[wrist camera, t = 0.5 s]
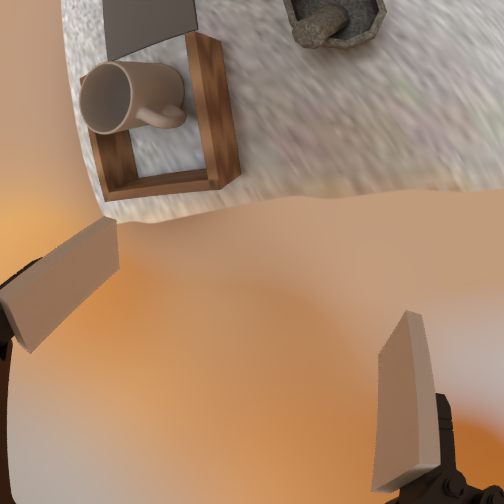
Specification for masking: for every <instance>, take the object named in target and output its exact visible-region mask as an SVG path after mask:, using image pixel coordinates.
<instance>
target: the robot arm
mask: <svg viewBox="0 0 504 504" xmlns="http://www.w3.org/2000/svg"><path fill="white" fill-rule="evenodd" d="M119 268H120V267H119V255H118V242H117V224H116V220H115V219H111V218H108V217H105V216H104V217H103V218H101V219H99V220H98V221H96V222H94V223H93V224H91V225H90V226H88V227H87V228H85V229H84V230H82V231H80V232H79V233H78V234H76V235H74V236H73V237H72V238H70V239H69V240H67V241H66V242H64V243H63V244H61V245H60V246H58V247H57V248H55V249H54V250H53V251H51V252H50V253H48V254H47V255H46V256H44V257H41V258H39V259H36V260H34V261H32V262H30V263H29V264H28V265H26V266H25V267H24V268H23V269H21V270H20V271H18V272H17V274H14V275H13V276H12V277H10V278H9V279H8V280H7V281H5V282H4V283H3V284H1V285H0V504H16V503H15V501H14V500H13V498H12V494H11V487H10V479H9V469H8V456H7V455H8V454H7V398H8V382H9V372H10V362H11V354H12V347H13V343H12V340H11V338H12V337H13V336H14V335H15V337H16V339H17V341H18V343H19V345H20V346H21V347H22V348H24V349H25V350H26V351H27V352H29V353H30V354H31V353H32V352H33V351H34V350H35V349H36V348H37V347H38V346H39V345H40V344H41V342H42V341H44V340H45V339H46V338H47V336H49V335H50V334H51V332H52V331H54V330H55V328H57V326H58V325H60V324H61V323H62V322H63V321H64V320H65V319H66V318H67V317H68V316H69V315H70V314H71V313H72V312H73V311H74V310H75V309H76V308H77V307H78V306H79V305H80V304H81V303H82V302H83V301H85V300H86V299H87V298H88V297H89V296H90V295H91V294H92V293H93V292H94V291H95V290H96V289H98V287H100V286H101V285H102V284H103V283H104V282H105V281H106V280H107V279H109V278H110V277H111V276H112V275H113V274H114V273H115V272H116V271H117V270H119ZM378 368H379V369H378V371H379V373H378V374H379V375H378V377H379V378H378V417H377V435H376V448H375V460H374V470H373V479H372V487H371V492H377V493H392V492H394V491H396V490H398V489H400V494H399V497H397V498H395V499H393V500H390V501H388V502H387V503H385V504H504V491H503V489H501V488H500V487H499V486H496V485H493V486H489V487H488V488H486V489H484V490H480V489H477V488H474V487H472V486H469V485H467V483H466V479H465V477H464V476H463V474H462V473H461V472H459V471H458V470H456V463H455V446H454V435H453V431H452V430H453V424H452V421H451V420H452V417H451V408H450V405H449V403H448V401H447V399H446V397H445V395H444V394H438V393H435V388H434V380H433V374H432V368H431V362H430V355H429V350H428V344H427V339H426V334H425V329H424V324H423V320H422V316H421V315H420V314H417V313H414V312H410V311H407V310H406V311H405V313H404V315H403V316H402V318H401V320H400V321H399V323H398V325H397V326H396V328H395V329H394V331H393V333H392V334H391V336H390V338H389V339H388V341H387V342H386V344H385V345H384V347H383V348H382V350H381V351H380V353H379V354H378Z"/></svg>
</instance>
